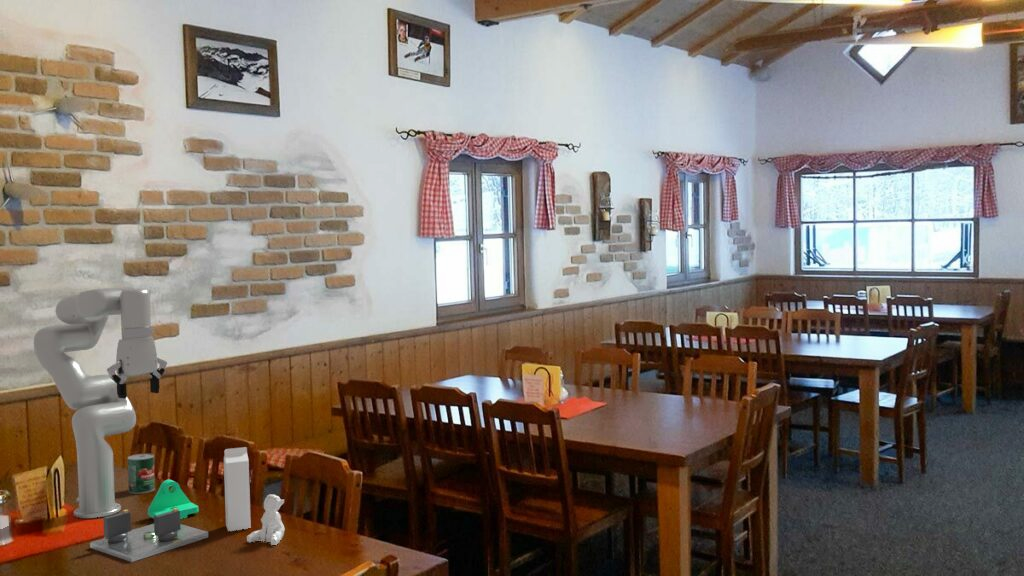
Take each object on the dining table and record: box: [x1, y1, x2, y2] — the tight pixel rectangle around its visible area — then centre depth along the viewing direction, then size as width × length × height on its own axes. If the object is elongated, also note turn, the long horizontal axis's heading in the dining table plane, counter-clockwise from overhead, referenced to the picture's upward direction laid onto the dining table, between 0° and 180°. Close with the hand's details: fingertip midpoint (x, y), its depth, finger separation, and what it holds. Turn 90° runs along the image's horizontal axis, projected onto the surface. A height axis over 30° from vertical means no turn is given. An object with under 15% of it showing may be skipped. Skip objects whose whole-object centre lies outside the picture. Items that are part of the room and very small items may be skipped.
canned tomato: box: [127, 453, 156, 495], centre depth 286 cm, size 8×8×11 cm
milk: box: [223, 446, 252, 532], centre depth 246 cm, size 6×6×22 cm
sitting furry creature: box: [246, 494, 286, 546], centre depth 235 cm, size 10×9×12 cm
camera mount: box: [147, 479, 199, 520], centre depth 257 cm, size 12×8×10 cm, turn 132°
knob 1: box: [102, 509, 132, 543], centre depth 232 cm, size 5×6×7 cm
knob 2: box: [153, 508, 181, 541], centre depth 233 cm, size 5×6×7 cm
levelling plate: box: [89, 523, 209, 563], centre depth 234 cm, size 19×22×2 cm
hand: (138, 395), depth 247 cm, fingers open, 9 cm apart
